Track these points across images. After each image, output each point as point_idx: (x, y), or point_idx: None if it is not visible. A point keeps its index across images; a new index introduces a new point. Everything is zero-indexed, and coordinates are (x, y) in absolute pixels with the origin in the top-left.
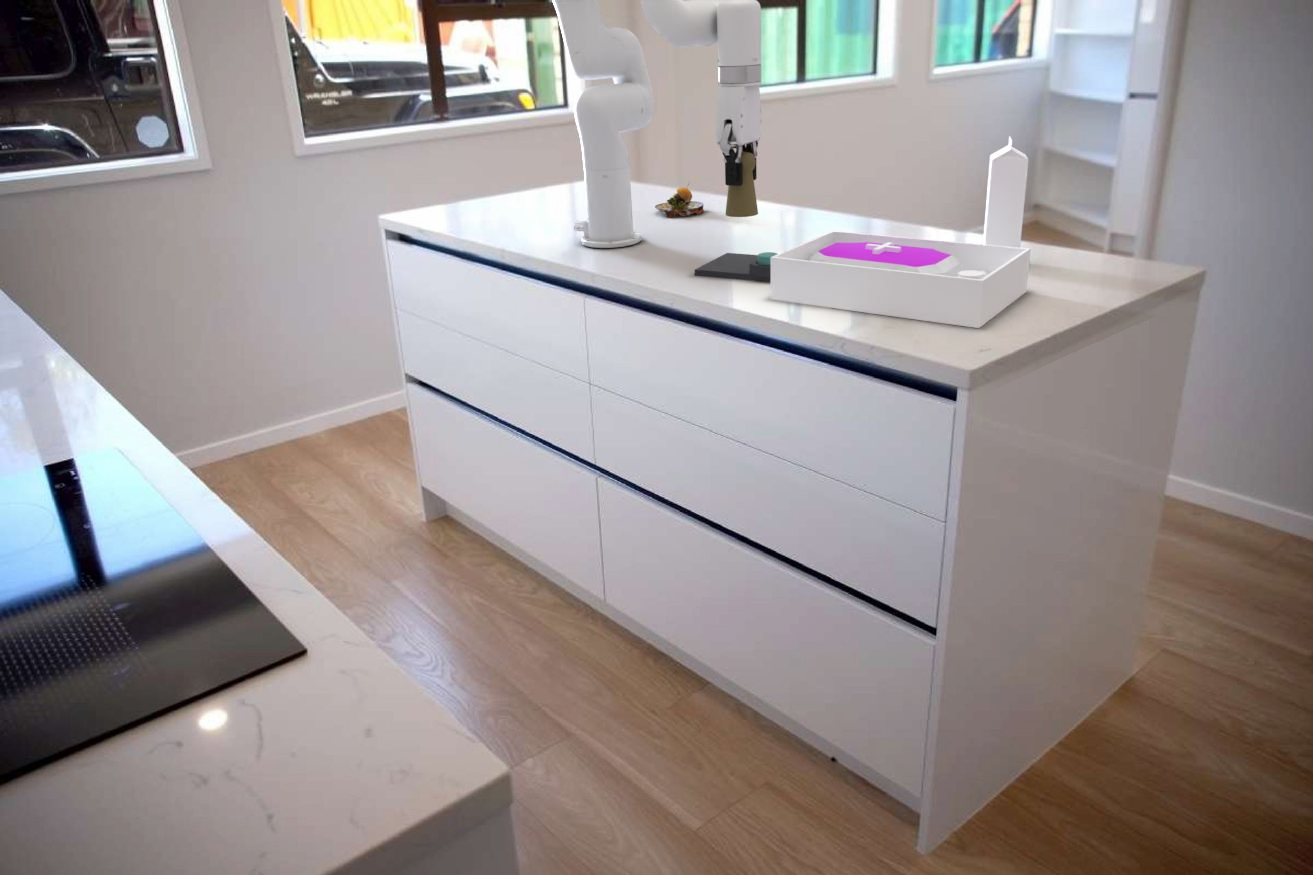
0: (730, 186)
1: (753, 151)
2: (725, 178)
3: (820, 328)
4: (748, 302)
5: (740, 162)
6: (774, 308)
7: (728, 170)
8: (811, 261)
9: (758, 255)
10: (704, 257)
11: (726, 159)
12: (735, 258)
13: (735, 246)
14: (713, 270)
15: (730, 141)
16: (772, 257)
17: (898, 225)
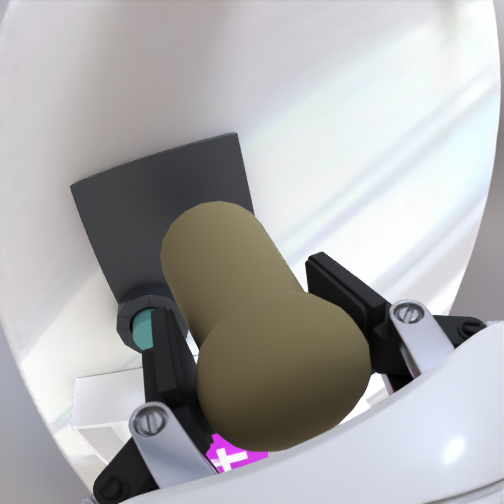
0: (187, 297)
1: (389, 390)
2: (153, 326)
3: (64, 445)
4: (46, 365)
5: (209, 439)
6: (60, 397)
7: (147, 386)
8: (102, 459)
9: (135, 328)
10: (219, 78)
11: (128, 446)
12: (200, 187)
13: (332, 84)
14: (89, 226)
15: (404, 390)
16: (71, 428)
17: (474, 236)
